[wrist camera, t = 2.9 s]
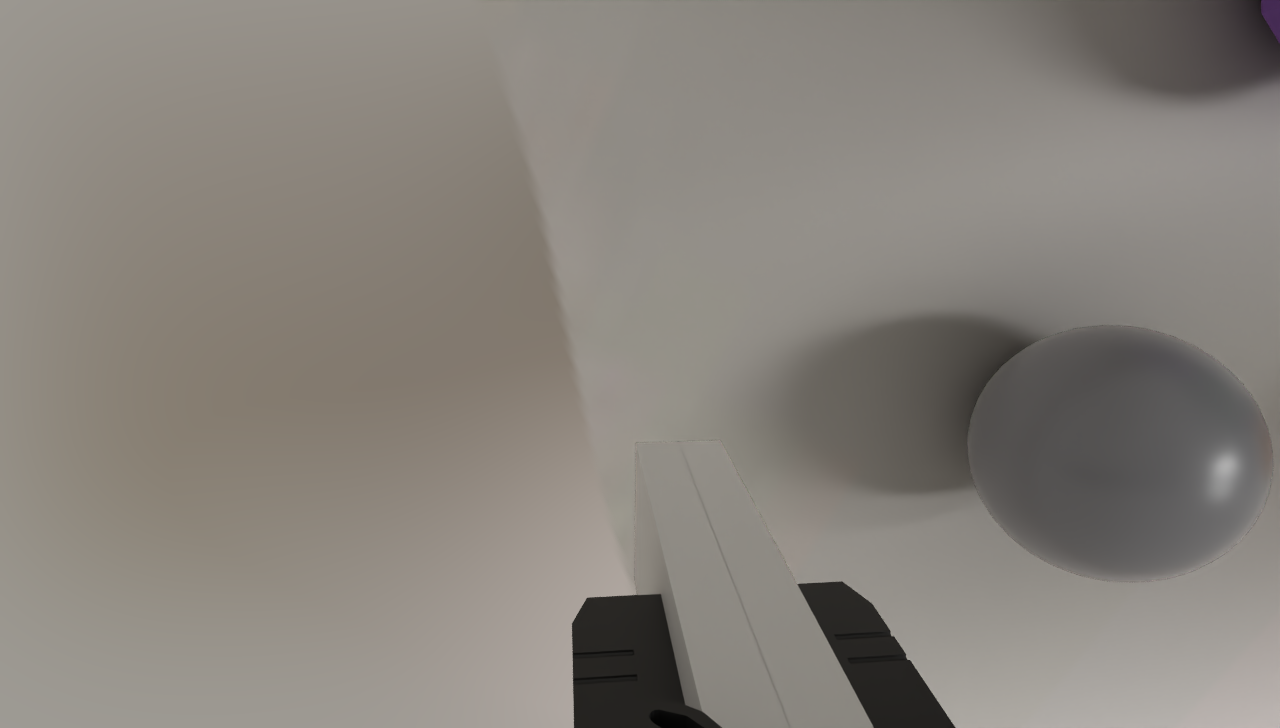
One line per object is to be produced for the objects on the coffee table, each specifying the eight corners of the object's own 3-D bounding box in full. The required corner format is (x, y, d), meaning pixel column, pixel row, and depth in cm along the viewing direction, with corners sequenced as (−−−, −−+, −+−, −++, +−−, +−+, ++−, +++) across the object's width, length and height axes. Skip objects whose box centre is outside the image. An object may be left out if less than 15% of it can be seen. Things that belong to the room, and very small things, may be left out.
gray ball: (1171, 343, 18) (1416, 424, 13) (1063, 527, 19) (1244, 668, 14) (989, 269, 17) (1174, 325, 12) (888, 470, 18) (1014, 599, 13)
